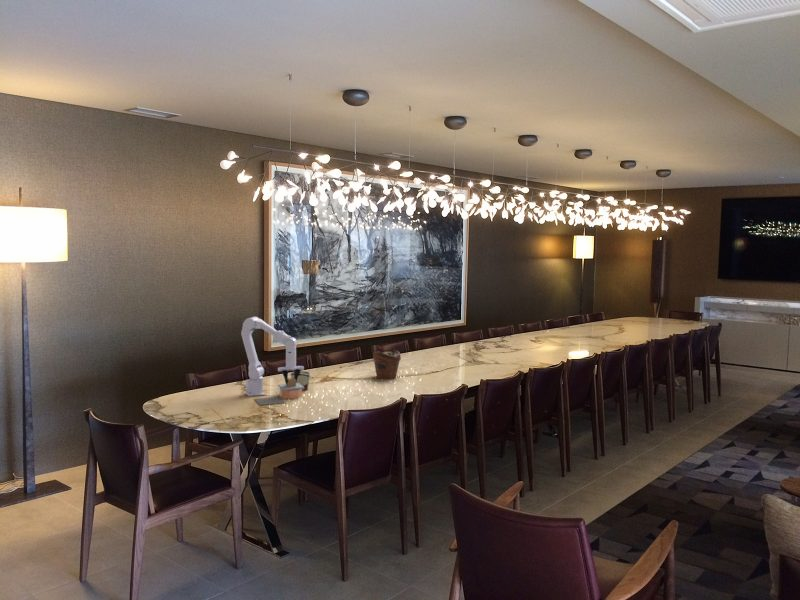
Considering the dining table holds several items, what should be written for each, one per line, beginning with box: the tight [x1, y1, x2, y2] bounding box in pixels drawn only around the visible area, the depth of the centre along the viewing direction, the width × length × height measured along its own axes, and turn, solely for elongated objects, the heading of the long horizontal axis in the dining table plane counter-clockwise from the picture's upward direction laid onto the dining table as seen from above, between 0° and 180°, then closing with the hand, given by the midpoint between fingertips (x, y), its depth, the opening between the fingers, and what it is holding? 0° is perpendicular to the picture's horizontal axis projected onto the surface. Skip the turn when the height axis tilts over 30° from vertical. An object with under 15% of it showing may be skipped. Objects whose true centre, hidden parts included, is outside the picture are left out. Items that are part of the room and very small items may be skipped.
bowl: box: [279, 387, 303, 399], centre depth 365 cm, size 12×12×4 cm
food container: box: [290, 370, 311, 391], centre depth 383 cm, size 12×6×10 cm, turn 74°
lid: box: [277, 377, 304, 391], centre depth 364 cm, size 12×12×5 cm
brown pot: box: [372, 349, 402, 380], centre depth 420 cm, size 18×20×18 cm
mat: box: [253, 396, 287, 406], centre depth 352 cm, size 14×14×1 cm
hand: (290, 383), depth 365 cm, fingers closed on lid, 4 cm apart
